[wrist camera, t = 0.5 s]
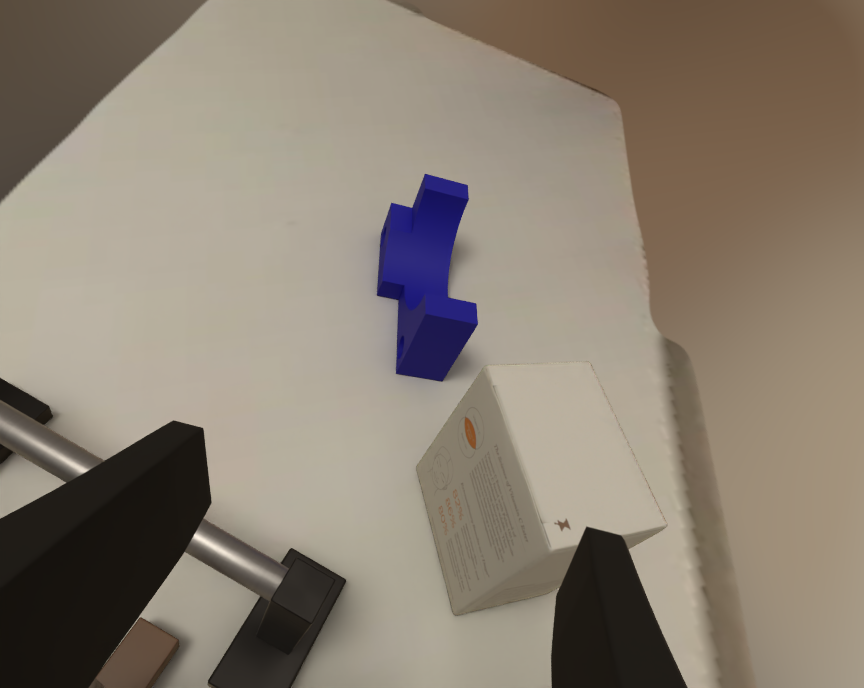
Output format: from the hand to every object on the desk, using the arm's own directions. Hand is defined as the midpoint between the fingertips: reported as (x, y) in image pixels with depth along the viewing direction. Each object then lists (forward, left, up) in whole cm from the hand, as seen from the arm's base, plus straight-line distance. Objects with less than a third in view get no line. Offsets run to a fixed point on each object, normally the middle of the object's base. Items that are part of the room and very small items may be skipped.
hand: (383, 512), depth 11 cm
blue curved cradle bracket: (+22, +4, -18) cm, 29 cm away
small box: (+10, -6, -18) cm, 22 cm away
